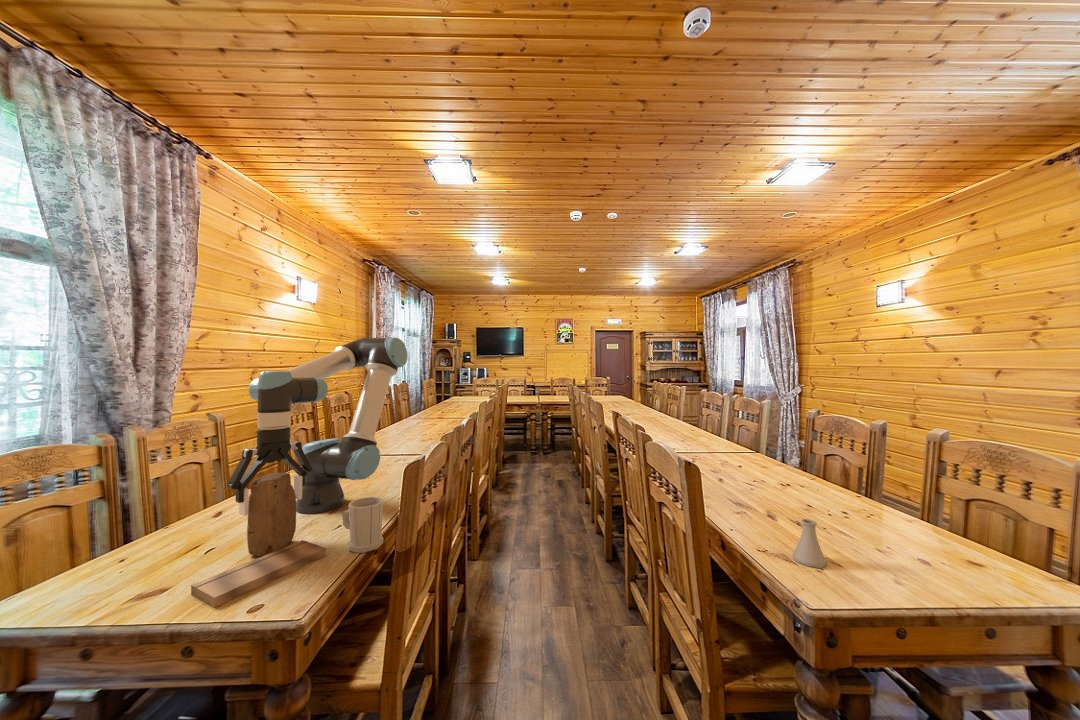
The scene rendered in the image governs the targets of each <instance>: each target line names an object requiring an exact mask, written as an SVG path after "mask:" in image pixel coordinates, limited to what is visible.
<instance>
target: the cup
mask: <svg viewBox="0 0 1080 720" xmlns="http://www.w3.org/2000/svg"><path fill="white" fill-rule="evenodd" d="M347 506H348V509H347V510H343V512H342V525H343V526H344V528H345V529H346V530H349V541H348V544H347V545H348V550H349V551H351V552H352V553H355V554H356V553H359V554H362V553H369V552H371V551H372V552H373V551H375V550H376V549H378V548H380V547H381V546H382V544H384V536H383V532H382V530H383V528H382V526H383V511H384V509H383V508H384V498H382V497H380V496H365V497H361V498H356V499H354V500H352V501H350V502H349V503H348V505H347Z"/></svg>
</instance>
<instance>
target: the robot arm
mask: <svg viewBox="0 0 1080 720" xmlns="http://www.w3.org/2000/svg"><path fill="white" fill-rule="evenodd" d="M407 360H408V349H407V347H406V344H405V343H404V341H403V340H402V339H400V338H398V337H395V336H394V337H392V336H386V337H363V338H362V337H361V338H359V339H355V340H354V341H350V342H348V343H345V344H343V345H340V346H337V347H336V348H335V349H334V351H332V352H330V353H328V354H324V355H322V356H320V357H318V358H315V359H312V360H311V361H310V360H309V361H307V362H305V363H302V364H300V365H298V366H295V367H292V368H290V369H288V370H283V371H282V370H274V371H273V370H266V371H265V370H264V371H262V372H261V371H260V373H259V375H258V377H257V378H255V379H253V380H252V381H251V383H249V386H248V394H249V396H250V399H252V400H254V401H255V402H257V417H256V418H257V420H256V426H257V427H258V429H257V430H256V448H254V449H253V448H252V449H249V448H243V450H242V452H241V458H240V460H239V462H238V464H237V466H236V467H235V469H234V472H233V473H232V475H231V477H230V478H229V480H228V483H227V484H226V488H227V489H231V490H234V491H235V502H236V503H238V505H239V506H238V514H239V515H241V516H248V501H249V495H250V493H249V491H250V490H249V489H250V488H247V486H249V485H250V484H251V483H250V482H252V480H254V478H255V477H256V475H257V474H258V472H260V470H261V469H262V468H263V467H264V466H265V465H266V464H272V463H274V462H282V461H284V463H285V464H287V465H288V466H289V467H290V468H291V469H292V471H294V473H296V474H295V475H293V489H294V492H295V496H296V513H300V514H316V513H317V514H319V513H323V512H327V511H332V510H335V509H337V508H339V507H341V506H343V505H344V504H345V494H344V491H343V489H342V486H341V483H340V479H343V480H351V481H356V480H357V481H359V480H361V481H362V480H366V479H368V478H369V477H370V476H372V475H373V474H374V473H375V472H376V470H377V469H378V467H379V464H380V461H381V451H380V449H379V447H377V445H378V441H377V440H376V438H375V436H376V432H377V428H378V424H379V421H380V418H381V414H382V412H383V407H384V404H385V400H386V396H387V393H388V391H389V385H390V383H391V379H392V377H395V376H397V373H398V370H399V368H402V367H403V366H405V365H406V363H407V362H408V361H407ZM355 368H365V370H366V371H367V373H366V376H365V379H364V382H363V386H362V389H361V393H360V396H359V398H358V400H357V401H358V402H357V405H356V409H355V411H354V414H353V418H352V420H351V424H350V426H349V430H348V432H347V433H346V434H345V435H342V437H341V440H340V439H339V438H335V437H334V438H327V439H321V440H315V441H311V442H307V443H304V445H303V446H302V441H296V440H294V441H292V442H291V443H290V440H291V428H290V427H289V426H290V425H292V423H291V417H292V414H291V413H292V411H291V410H292V405H296V404H305V403H307V404H308V403H312V404H313V403H316V402H321V401H323V400H324V399H325V398H326V397H327V395H328V392H329V386H328V383H327V382H326V381H325V379H327V378H329V377H331V376H333V375H335V374H339V373H340V372H342V371H350V370H352V369H355ZM290 450H291V451H292V452H293V453H294V455H295V457H296V459H297V461H298V462H297V461H296V460H295V459H294V458H293V456H291V455H290V453H289V452H290ZM255 455H256V456H257V457H256V458H255V459H254V460H253V463H252V465H251V466H250V463H251V461H252V459H253V458H254V457H255ZM248 467H249V468H248ZM247 469H248V470H247Z"/></svg>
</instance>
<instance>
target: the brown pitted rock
mask: <svg viewBox="0 0 1080 720" xmlns="http://www.w3.org/2000/svg"><path fill="white" fill-rule="evenodd" d="M249 489H250V490H249V491H250V493H249V496H248V515H247V525H246V528H247V529H246V530H247V531H246V537H247V538H246V539H247V540H246V542H247V549H248V553H249V555H252V556H255V557H262V556H265V555H267V554H270V553H272V552H275V551H277V550H280V549H282V548H285V547H287V546H289V545H291V543H292V541H293V539H294V536H295V533H296V529H297V528H296V527H297V511H296V501H297V499H296V496H295V492H294V485H292V479H291V474H290V473H289V472H272V473H268V474H267V475H263V476H260V477H258V478H256V479H253V481H252V480H251V483H249Z"/></svg>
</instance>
